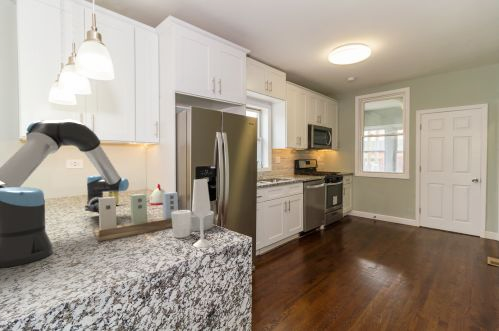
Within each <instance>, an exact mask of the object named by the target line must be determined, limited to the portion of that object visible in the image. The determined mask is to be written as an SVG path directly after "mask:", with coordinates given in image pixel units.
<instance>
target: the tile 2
mask: <svg viewBox="0 0 499 331" xmlns="http://www.w3.org/2000/svg"><path fill="white" fill-rule="evenodd" d="M147 201H148V200H147V193H136V194H135V193H134V194H130V210H131V211H130V216H131V219H130V220H131V223H132V225H135V224H140V223H146V222H147V220H148V207H147V206H148V202H147Z"/></svg>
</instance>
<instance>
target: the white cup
mask: <svg viewBox="0 0 499 331" xmlns="http://www.w3.org/2000/svg"><path fill="white" fill-rule="evenodd" d="M191 212H192V210H189V209H178V210H177V211H173V212H171V215H172V227H171V228H172V232H173V238H175V239H182V238H188V237H189V236H191V230H190V228H191Z"/></svg>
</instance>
